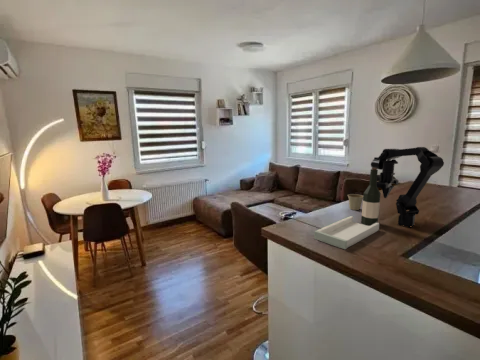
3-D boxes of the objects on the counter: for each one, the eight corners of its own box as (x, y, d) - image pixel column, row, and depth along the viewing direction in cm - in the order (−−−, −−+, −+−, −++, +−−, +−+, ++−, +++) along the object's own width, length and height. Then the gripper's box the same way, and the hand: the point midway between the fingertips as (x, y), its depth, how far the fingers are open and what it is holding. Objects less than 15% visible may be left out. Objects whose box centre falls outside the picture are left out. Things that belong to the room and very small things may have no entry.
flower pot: (348, 206, 176) (349, 193, 175) (363, 208, 172) (364, 195, 170) (345, 209, 169) (346, 196, 167) (361, 212, 164) (362, 198, 162)
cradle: (378, 230, 134) (379, 223, 133) (344, 249, 113) (345, 241, 112) (349, 222, 145) (350, 216, 145) (314, 238, 124) (314, 231, 123)
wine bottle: (380, 226, 139) (385, 169, 133) (362, 225, 141) (367, 169, 135) (375, 221, 147) (380, 167, 142) (359, 220, 149) (363, 166, 143)
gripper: (380, 167, 163) (377, 193, 166) (366, 171, 151) (363, 197, 154) (400, 170, 154) (397, 196, 157) (386, 173, 142) (384, 201, 145)
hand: (385, 197), depth 154 cm, fingers closed
